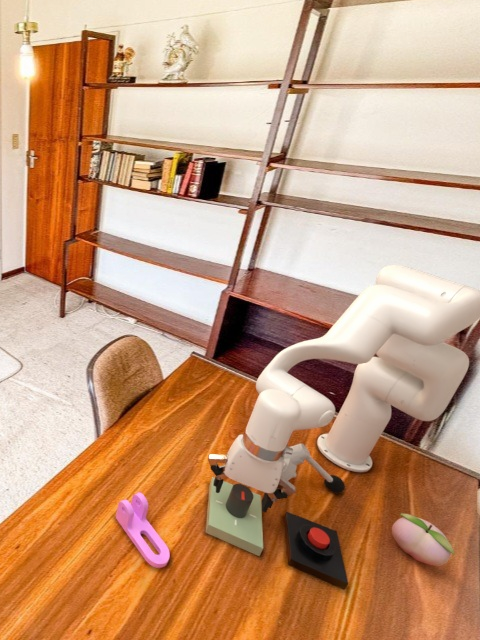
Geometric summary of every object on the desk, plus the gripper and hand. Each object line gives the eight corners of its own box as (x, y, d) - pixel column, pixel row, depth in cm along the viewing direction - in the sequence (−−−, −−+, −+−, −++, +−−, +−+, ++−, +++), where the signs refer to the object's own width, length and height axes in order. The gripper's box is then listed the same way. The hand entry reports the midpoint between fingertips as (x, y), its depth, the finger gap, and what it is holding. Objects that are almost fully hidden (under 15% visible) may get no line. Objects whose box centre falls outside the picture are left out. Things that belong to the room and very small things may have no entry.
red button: (306, 529, 88) (309, 524, 87) (325, 537, 87) (328, 532, 86) (308, 544, 85) (311, 539, 85) (328, 552, 84) (331, 547, 83)
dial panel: (209, 484, 102) (212, 476, 100) (257, 503, 97) (261, 494, 96) (205, 532, 90) (208, 524, 89) (259, 556, 86) (263, 547, 85)
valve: (295, 520, 104) (356, 506, 96) (247, 476, 100) (307, 456, 93) (284, 485, 112) (339, 468, 104) (239, 442, 109) (293, 422, 101)
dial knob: (225, 497, 95) (232, 479, 93) (246, 505, 94) (253, 487, 91) (225, 512, 92) (232, 495, 89) (246, 521, 90) (254, 503, 87)
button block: (283, 516, 94) (288, 506, 93) (333, 536, 91) (339, 526, 89) (287, 565, 85) (294, 553, 83) (344, 589, 81) (351, 578, 79)
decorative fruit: (444, 562, 86) (468, 533, 82) (431, 583, 82) (456, 555, 78) (391, 525, 93) (410, 497, 89) (377, 543, 89) (397, 515, 85)
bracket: (115, 517, 93) (119, 498, 90) (134, 508, 95) (138, 488, 92) (154, 572, 82) (160, 552, 79) (174, 560, 85) (180, 540, 82)
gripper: (308, 447, 83) (281, 500, 90) (219, 417, 90) (201, 469, 97) (313, 474, 77) (284, 529, 84) (217, 439, 84) (198, 493, 91)
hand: (240, 497), depth 91 cm, fingers open, 9 cm apart
